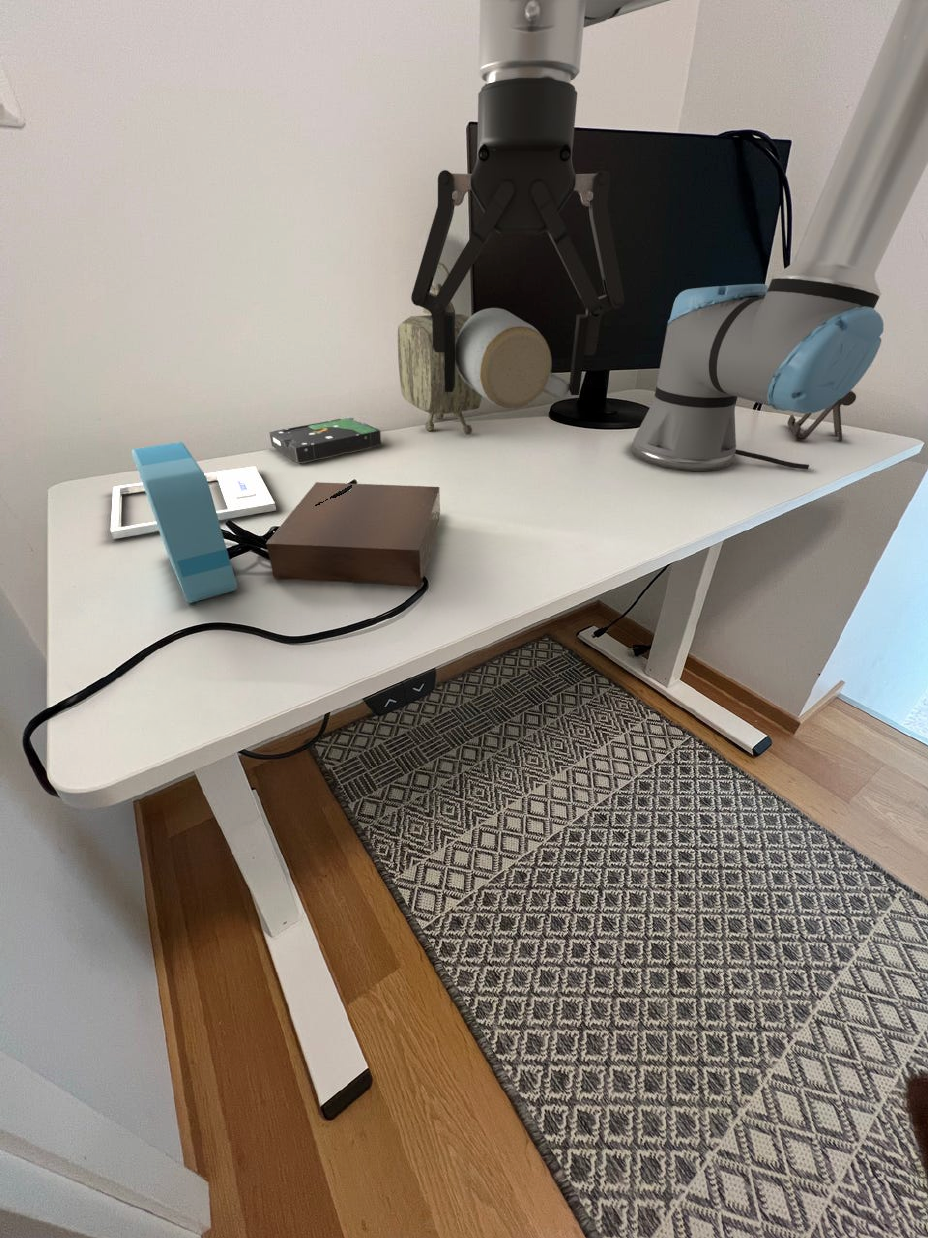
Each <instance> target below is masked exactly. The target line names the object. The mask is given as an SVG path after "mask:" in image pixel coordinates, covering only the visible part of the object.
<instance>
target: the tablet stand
mask: <svg viewBox="0 0 928 1238" xmlns="http://www.w3.org/2000/svg"><path fill="white" fill-rule="evenodd" d="M856 399H857V395H856V393H855V392H854V391H853V389H852V390H851V391H850V392H849V393H847V394H846V395H845V396H844V397H843V398H842V399H839V400H838V401H837V402H836V403H834V404H833V405H832V406H830V407H828V408H826V409H824V410H822V412H821V413H820V414H819V415H818V417H817V418H816V419H815V420H814V421H813V422H812V424H811V425H810V426H809V427H808V428H807V429H805V430H804V431H803V429H802V425H803V424H804V423H805V422H806V421H807V420H808V419H809V417H810V416H811V415H812V414H813V413H809V414H803V416H802V417H801V418H800V419H799V420H798V421H796V418H795V415H793V414H790V416H789V418H788V420H787V423H786V424H787V426H788V428H789V430H790V432H791V433H792V435H793V437H794V439H795V440H796V441H798V442H802V441H805V440H806V439H807V438H808V437H809V436H810V435H811V434H812V433H813V431H814V430H816V428H817V427H818V426H819V425H820V424H821V423H822V421H824V419H825V418H826V417H827V416H828V415H829V413H830V412H831V411H832V417H833V418H832V419H833V420H832V421H833V433H834V435H835V437H838V441H839V442H842V441H843V431H842V417H841V416H842V414H841V406H845V407H847V406H851V405H852V404H854V403H855V402H856Z"/></svg>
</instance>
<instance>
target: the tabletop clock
mask: <svg viewBox="0 0 928 1238" xmlns="http://www.w3.org/2000/svg"><path fill="white" fill-rule="evenodd" d="M437 269H442V271H443V272H444V274H445V277H446V278H447V277H448V275H449V273H450V272H449V269H448V267H447V266H446V265H445V264H444V263H442V262H439V263H438V267H437ZM442 285H443V284H441V283H436V284H435V285H434V286H433V284H432V286H431V289H430V291H432V292H431V293H433V294H435V295H437V294H438V292H439V290H440V289H441V287H442ZM447 312H455V347H456V341H457V338H458V335H459V333H460V331H461V329H462V327H463V326H464V324H465V323H466V321H467V320H468V319H469V318H470V317H471V316H470V317H469V316H468V315H465V314H462V313H457V312H456V308H455V307H454V304H453V302H452V300H451V301H450V303H449V305H448V306H447ZM422 313H423V314H427V315H411V316H409V317H407V318H405V320H404V321H403V322H401V323H400V324H399V325H398V326H397V356H398V357H397V358H398V359H397V360H398V371H399V372H398V373H399V383H400V390H401V395H402V397H403V399H404V401H406V402H407V403H409V404H411V406H414V407H415V408H417V409H419V410H421V411H424V412H425V413H429V419H428V421H427V422H426V423H425V424H424V428H425V430H426V431H427V432H432V431H433V430H434V429H435V423H434V422H433V420H434V417H435V419H436V420H442V419H443V418H444V415H449V414H453V415H454V416H456V417H457V418H458V420H459V421H460V423H461V424H462V425H463V428H462V432H463V434H465V435H470V434H472V432H473V427H472V425H470V424H467V423H466V420H465V418H464V416H463V413H462V412H467V411H468V412H469V411H475V410H479V409H480V407H481V403H482V397H483V396H482V395H480V394H479V393H478V392H476V391H475V390H474V389H472V388H471V387H470V386H468V384H467V383H466V382H465V381H464V380H463V379H462V377H461V375H460V374H459V372H458V369H457V365H456V360H455V387H454V390H453V392H445V355H444V353H442V352H435V351H434V348H433V329H432V315H431V313H430V311H429V310H427V309H425V308H423V310H422Z"/></svg>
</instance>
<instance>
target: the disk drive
mask: <svg viewBox="0 0 928 1238" xmlns="http://www.w3.org/2000/svg"><path fill="white" fill-rule="evenodd" d="M268 433H269V438H270V444H271V447H273V448H274V449H276V450H277V451H278V452H280V453H281V454H282V455H283V456H286V457H287V458H289V459H290V460H291V461H293V462H296V463H298V464H303V463H308V462H313V461H317V460H323V459H328V458H333V457H336V456H340V455H344V454H348V453H349V454H350V453H355V452H360V451H365V450H369V449H372V448H375V447H378V446H382V435H381V429H378V428H376V427H373V426H372V425H369V424H368V423H366V422H363V423H362V422H360V421H357V420H355V419H354V417H346V418H337V419H333V420H332V419H331V420H327V421H322V422H321V421H320V422H316V423H311V424H305V425H299V426H293V427H288V428H282V429H277V430H274V431H269V432H268Z"/></svg>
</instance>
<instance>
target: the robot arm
mask: <svg viewBox="0 0 928 1238" xmlns="http://www.w3.org/2000/svg"><path fill="white" fill-rule="evenodd" d="M666 2H670V0H479V15H478V17H479V23H478V25H479V26H478V27H479V28H478V31H479V32H478V33H479V34H478V75H479V76H480V78H481V79H482V81H484V82H486V83H485V84H484V85H483V86H482V87H481V89H480V91H479V92H478V93H477V94H478V95H477V145H476V147H477V148H476V150H477V151H476V152H477V153H476V163H475V164H474V165H475V166H474V167H473V170H472V173H453V172H451V171H449V170H447V169H444V170H441V171H440V172H439V174H438V176H437V207H436V210H435V213H434V217H433V220H432V224H431V227H430V230H429V234H428V237H427V241H426V244H425V247H424V251H423V255H422V257H421V261H420V265H419V268H418V271H417V275H416V279H415V282H414V286H413V289H412V291H411V292H412V293H411V296H410V299H411V302H412V304H413V305H414V306H416V307H421V308H423V309H424V308H425V309H427V310H429V311H430V313H431V314H430V315H432V329H433V348H434V351H435V352H442V353H444V355H445V392H453V390H454V387H455V314H456V313H455V312H456V311H455V312H447V306H448V305H449V303H450V301H451V302H452V301H453V300H452V299H453V298H454V296H455V294H456V293H457V292H458V290H459V288H460V286H462V283H463V281H464V280H465V278H466V276H468V273H469V271H470V270H471V269H472V266H473V265H474V263H475V262H476V260H477V258H478V256H479V255H480V253H481V251H482V250H483V248H484V246H485V245H486V243H487V242H488V241H489V239H490V237H491V235H492V234H493V232H494V231H495V232H496V233H498V234H499V235H501V236H506V235H507V236H512V235H515V234H518V233H522V234H525V235H528V236H539V235H542V234H543V233H545V232H547V234H548V236H549V238H550V241H551V242H552V244H553V246H554V248H555V250H556V252H557V254H558V256H559V259H560V261H561V262H562V264H563V266H564V268H565V270H566V272H567V274H568V276H569V278H570V280H571V282H572V285H573V286H574V288H575V290H576V292H577V295H578V296H579V298H580V301H581V303H582V304H583V306H584V308H585V314H580V313H579V314H576V319H575V320H576V322H575V331H574V339H573V348H572V357H571V368H570V376H569V383H570V384H571V387H570V389H569V393H570V395H571V396H580V391H581V381H582V375H583V374H582V373H583V367H584V359H585V356H589V357H590V356H591V357H592V356H593V357H594V355H595V354H596V351H597V347H598V341H599V340H598V339H599V335H600V334H599V332H600V325H601V320H602V317H603V316H604V315H605V314H607V313H609V312H612V311H613V310H618V309H620V308H622V307H623V306H624V304H625V295H624V289H623V283H622V279H621V273H620V268H619V262H618V257H617V252H616V247H615V242H614V236H613V231H612V226H611V221H610V220H611V219H610V215H609V209H608V201H609V191H610V182H611V176H610V173H609V172H608V171H607V170H605V169H601V170H599V171H598V172H596V173H576V172H575V169H574V166H573V147H574V135H575V127H576V126H575V125H576V113H577V101H578V91H577V90H576V86H574V84H572V83H571V82H572V81H573V80H575V79H576V78H577V76H578V75H579V74H580V70H581V58H582V49H583V37H584V36H583V35H584V28H587V27H590V26H594V25H597V24H601V23H603V22H606V21H607V20H610V19H614V18H617V17H620V16H624V15H627V14H630V13H634V12H637V11H639V10H642V9H646V8H649V7H653V6H656V5H660V4H662V3H666ZM927 166H928V0H899V2H898V5H897V8H896V10H895V13H894V14H893V17H892V19H891V23H890V24H889V27H888V30H887V32H886V34H885V37H884V40H883V41H882V44H881V47H880V49H879V51H878V53H877V56H876V59H875V62H874V64H873V67H872V68H871V71H870V73H869V76H868V79H867V81H866V83H865V85H864V87H863V91H862V93H861V96H860V98H859V100H858V103H857V104H856V107H855V110H854V113H853V115H852V118H851V119H850V122H849V125H848V127H847V130H846V132H845V134H844V137H843V139H842V142H841V145H840V146H839V149H838V152H837V154H836V157H835V159H834V161H833V164H832V166H831V168H830V171H829V173H828V176H827V179H826V181H825V183H824V186H823V188H822V190H821V193H820V196H819V198H818V200H817V202H816V205H815V208H814V210H813V212H812V215H811V218H810V219H809V223H808V225H807V227H806V230H805V232H804V234H803V237H802V239H801V242H800V245H799V247H798V249H797V251H796V254H795V257H794V258H793V261H792V263H790V264H789V265H788V266H787V267H785V268H784V269H782V270H780V272H778V273H776V274H775V275H773V276H772V278H771V280H770V283H769V285H767V284H765V283H750V284H749V283H748V284H747V283H746V284H732V285H721V286H719V285H717V286H703V287H696V288H688V289H685V290H682V291H681V292H679V294H678V295H677V296H676V297H675V299H674V301H673V305H672V308H671V313H670V317H669V319H668V321H667V325H666V332H665V337H664V343H663V348H662V353H661V359H660V364H659V370H658V376H657V380H656V387H655V392H654V395H653V396H654V397H653V401H652V403H651V404H650V407H649V409H648V410H647V413H646V414H645V416H644V418H643V420H642V422H641V424H640V426H639V428H638V430H637V432H636V433H635V436H634V438H633V442H632V448H631V451H632V453H633V455H634V456H635V457H637V458H639V459H640V460H642V461H644V462H647V463H649V464H651V465H655V466H659V467H663V468H667V469H673V470H681V471H689V472H690V471H693V472H704V471H705V472H706V471H715V470H720V469H724V468H726V467H729V466H730V465H732V463H733V461H734V458H735V455H738V456H742V457H745V458H750V459H755V460H759V461H763V462H767V463H771V464H775V465H778V466H783V467H785V468H786V467H787V468H791V469H800V470H809V468H810V464H806V463H797V462H791V461H787V460H783V459H782V460H781V459H778V458H775V457H771V456H767V455H763V454H759V453H755V452H750V451H746V450H742V449H737V435H736V414H735V409H736V404H737V401H738V398H740V399H743V400H746V401H750V402H754V403H756V404H761V405H764V406H768V407H771V408H772V409H773V410H779V411H785V412H786V411H789V412H792V413H797V414H803V415H805V414H809V413H812V414H814V413H819V412H821V411H824V410H825V409H826V408H828V407H830V406H832V405H833V404H834V403H836V402H837V401H838V400H839V399H842V398H843V397H844V396H845V395H846V394H847V393H849V392H850V391H851V390H852V391H853V389H854V388H855V386H857V384H859V382H860V381H861V380H862V378H863V377H864V376H865V374H866V373H867V371H868V370H869V368H870V367H871V366H872V364H873V362H874V360H875V359H876V356H877V354H878V352H879V350H880V347H881V343H882V338H881V335H882V334H884V319H883V317H882V316H881V314H880V313H879V312H877V310H876V309H875V308H876V306H877V303H878V302H879V299H880V298H881V295H882V292H881V290H880V288H879V285H878V283H877V280H876V272H877V270H878V268H879V267H880V264H881V263H882V260H883V259H884V255H885V254H886V252H887V249H888V247H889V245H890V243H891V241H892V239H893V237H894V234H895V233H896V230H897V228H898V226H899V224H900V222H901V220H902V218H903V216H904V215H905V214H904V213H905V212H906V210H907V208H908V205H909V204H910V202H911V200H912V199H911V198H912V197H913V195H914V192H915V191H916V189H917V186H918V184H919V182H920V181H921V178H922V176H923V174H924V172H925V169H926V167H927ZM469 191H472V194H473V196H474V197H475V199H476V201H477V203H478V204H479V206H480V208H481V210H482V212H483V215H482V217H481V218H480V220H479V221H478V223H477V225H476V226H475V228H474V230H473V231H472V234H471V236H470V237H469V238H468V241H467V242H466V244H465V246H464V248H463V249H462V251H461V253H460V255H458V258H457V259H456V261H455V263H454V265H453V266H452V268H451V269H450V272H449V275H448V277H446V278H445V280H444V281H443V284H441V285H442V287H441V289H440V290H439V292H438V294H437V295H436V294H435V293H433V292H431V286H432V285H433V283H434V281H435V276H436V273H437V271H438V270H437V269H438V268H437V267H438V263H440V260H441V256H442V254H443V250H444V247H445V244H446V241H447V237H448V235H449V230H450V228H451V224H452V222H453V218H454V214H455V207H457V206H460V205H462V204H463V201H464V199H465V198H464V197H465V195H466V194H467V193H468V192H469ZM573 192H577V193H578V194H579V196H580V201H581V204H582V205H583V206H584V207H587V208H588V213H589V214H588V215H589V220H590V226H591V230H592V236H593V241H594V245H595V250H596V256H597V260H598V265H599V270H600V274H601V279H602V284H603V290H604V293H605V294H603V295H600V296H598V294H597V292H596V290H595V288H594V285H593V284H592V282H591V280H590V277H589V275H588V273H587V271H586V269H585V267H584V265H583V263H582V260H581V258H580V257H579V256H580V255H579V254H578V253H577V250H576V248H575V246H574V244H573V242H572V240H571V237H570V235H569V233H568V231H567V228H566V225H565V223H564V222H563V220H562V218H561V216H560V214H559V213H560V212H561V210H562V209H563V208H564V206H565V204H566V203H567V201H568V200H569V198H570V197H571V195H572V194H573Z"/></svg>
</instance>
